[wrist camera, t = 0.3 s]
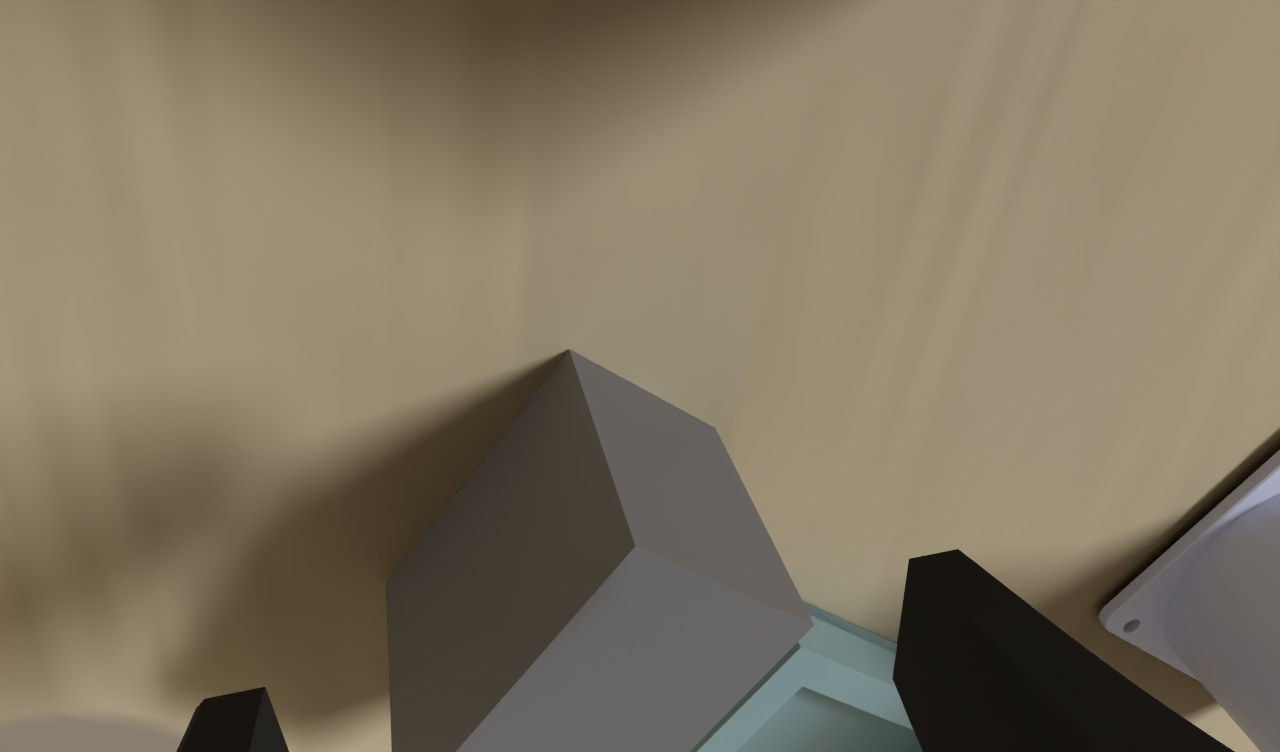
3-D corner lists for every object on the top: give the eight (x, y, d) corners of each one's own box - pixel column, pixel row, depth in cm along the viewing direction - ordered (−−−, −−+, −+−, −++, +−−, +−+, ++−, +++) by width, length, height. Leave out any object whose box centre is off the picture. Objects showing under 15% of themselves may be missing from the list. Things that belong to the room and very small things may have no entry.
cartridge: (714, 426, 22) (814, 625, 17) (531, 638, 25) (574, 867, 20) (568, 347, 20) (635, 546, 16) (383, 585, 23) (391, 825, 18)
